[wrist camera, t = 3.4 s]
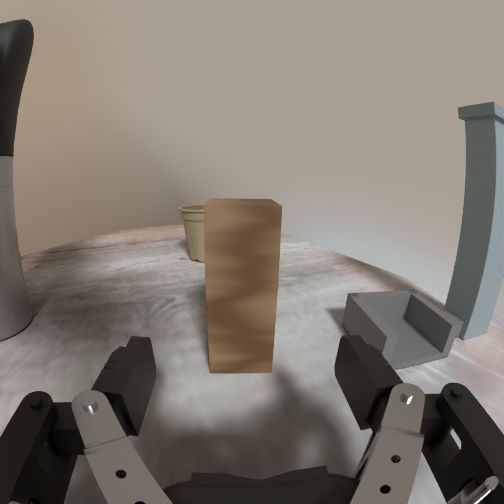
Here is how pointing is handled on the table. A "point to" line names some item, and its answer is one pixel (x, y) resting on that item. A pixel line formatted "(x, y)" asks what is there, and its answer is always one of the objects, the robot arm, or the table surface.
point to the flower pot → (194, 230)
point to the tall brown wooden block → (241, 282)
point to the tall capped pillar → (465, 270)
